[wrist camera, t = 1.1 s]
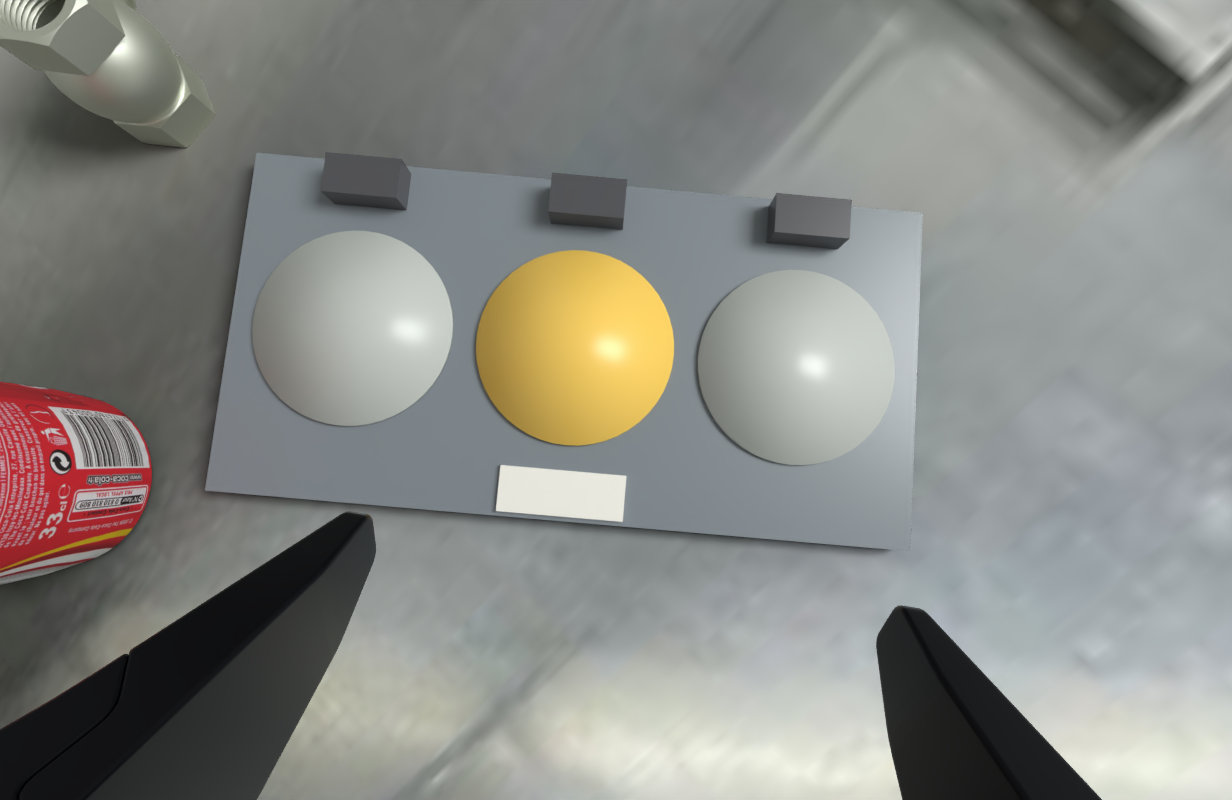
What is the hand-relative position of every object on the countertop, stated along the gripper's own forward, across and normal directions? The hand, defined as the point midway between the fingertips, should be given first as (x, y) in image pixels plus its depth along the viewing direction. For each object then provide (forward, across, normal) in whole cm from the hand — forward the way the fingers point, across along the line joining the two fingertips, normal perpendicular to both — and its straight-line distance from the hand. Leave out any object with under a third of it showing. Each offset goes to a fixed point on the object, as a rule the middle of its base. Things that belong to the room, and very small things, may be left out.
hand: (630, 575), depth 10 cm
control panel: (+15, +3, +4) cm, 16 cm away
